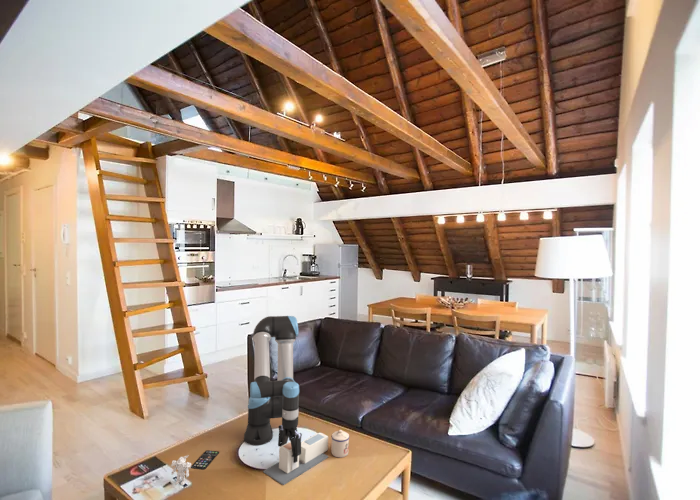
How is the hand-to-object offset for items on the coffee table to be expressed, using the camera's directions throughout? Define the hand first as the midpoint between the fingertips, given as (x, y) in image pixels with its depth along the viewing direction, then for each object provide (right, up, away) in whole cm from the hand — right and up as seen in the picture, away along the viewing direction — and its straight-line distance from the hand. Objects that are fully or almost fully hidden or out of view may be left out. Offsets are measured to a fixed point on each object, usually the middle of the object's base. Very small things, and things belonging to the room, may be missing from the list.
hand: (288, 465), depth 178 cm
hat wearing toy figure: (-45, -1, -12) cm, 47 cm away
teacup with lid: (+24, -2, +16) cm, 29 cm away
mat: (+3, -2, +4) cm, 5 cm away
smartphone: (-41, -1, +6) cm, 42 cm away
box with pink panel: (0, -1, 0) cm, 1 cm away
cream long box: (+9, -1, +12) cm, 15 cm away
